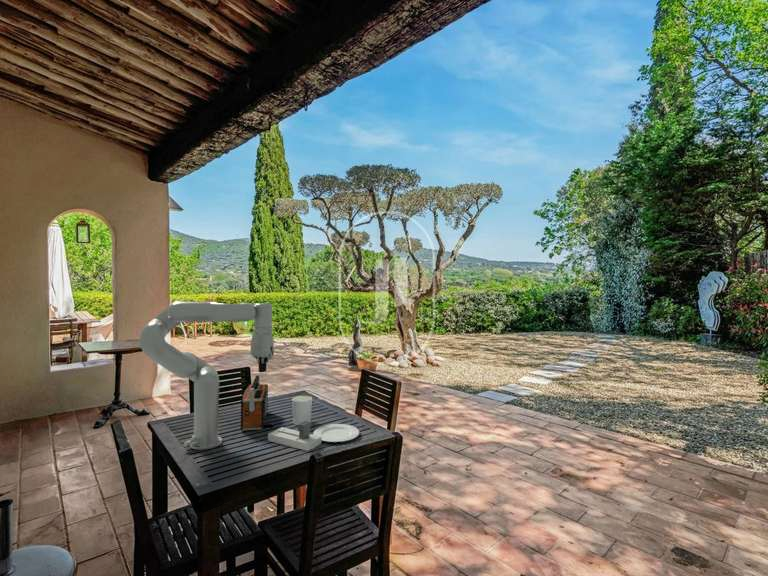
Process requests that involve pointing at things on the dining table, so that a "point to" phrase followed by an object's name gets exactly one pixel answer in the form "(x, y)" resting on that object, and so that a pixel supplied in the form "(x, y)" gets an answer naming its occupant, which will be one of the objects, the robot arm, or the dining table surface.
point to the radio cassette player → (254, 406)
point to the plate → (337, 433)
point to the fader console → (294, 439)
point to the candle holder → (301, 409)
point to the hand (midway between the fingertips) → (262, 371)
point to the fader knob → (304, 429)
